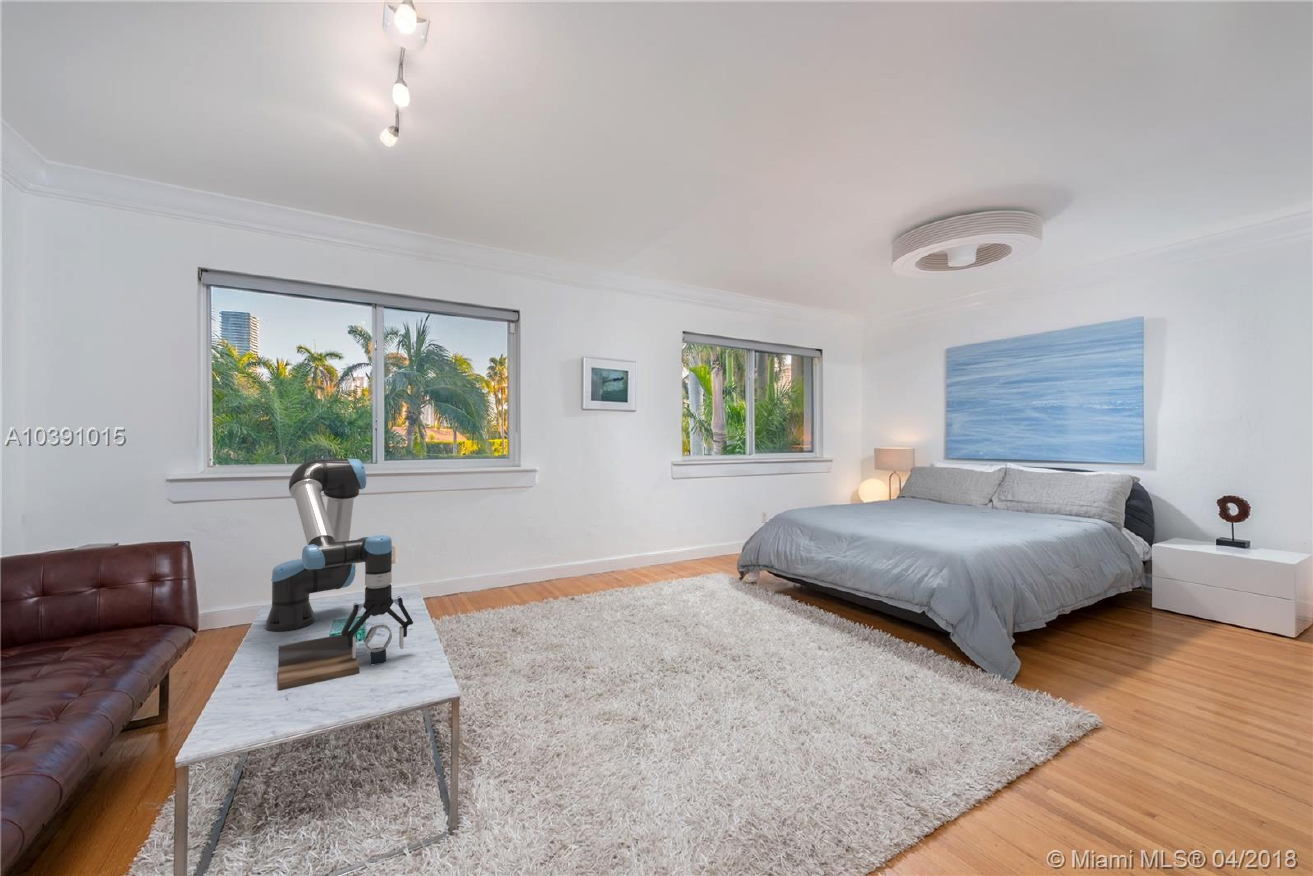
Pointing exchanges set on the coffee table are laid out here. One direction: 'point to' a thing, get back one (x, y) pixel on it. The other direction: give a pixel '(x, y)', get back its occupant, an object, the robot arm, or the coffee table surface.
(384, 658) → the watch
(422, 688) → the coffee table surface
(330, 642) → the display stand
